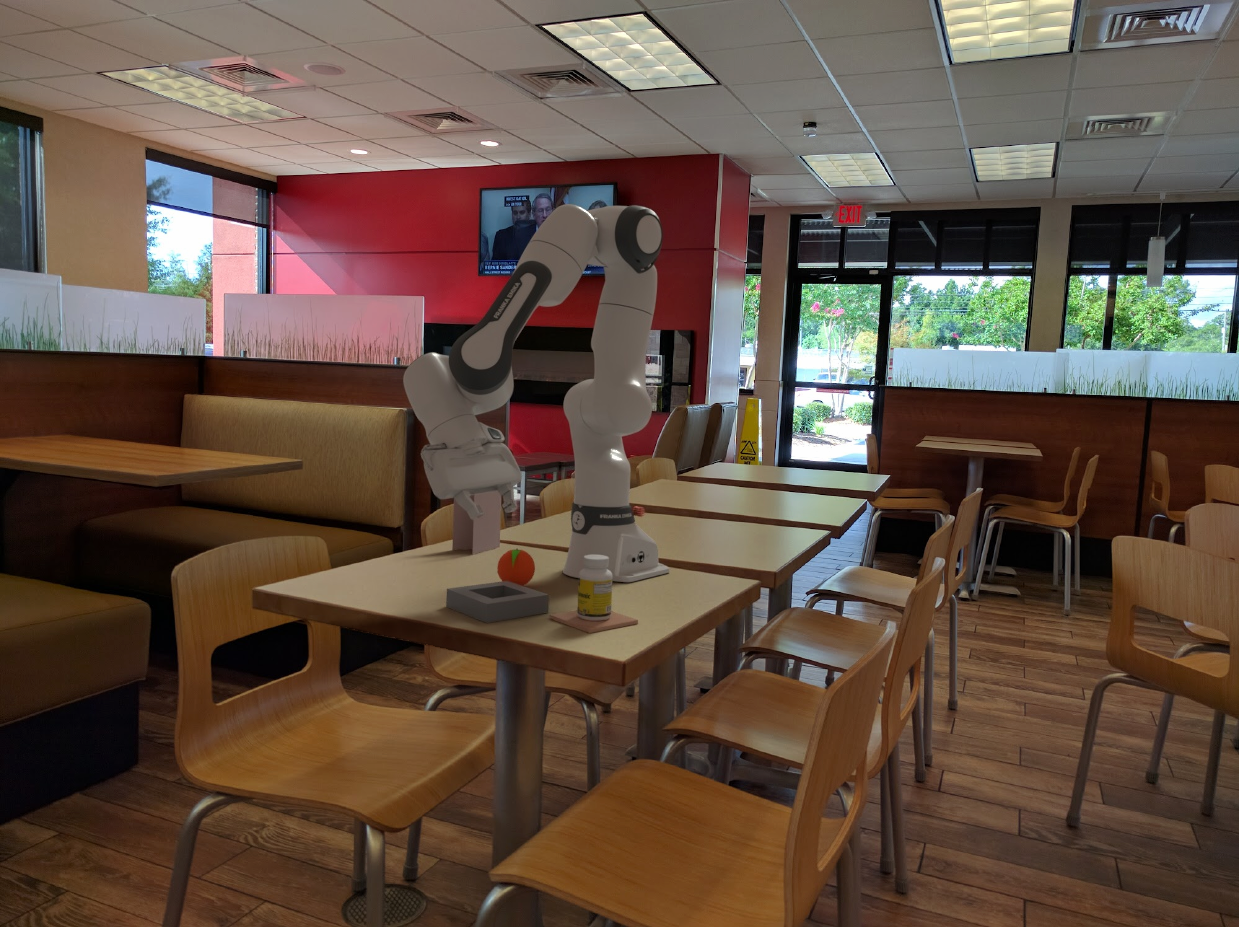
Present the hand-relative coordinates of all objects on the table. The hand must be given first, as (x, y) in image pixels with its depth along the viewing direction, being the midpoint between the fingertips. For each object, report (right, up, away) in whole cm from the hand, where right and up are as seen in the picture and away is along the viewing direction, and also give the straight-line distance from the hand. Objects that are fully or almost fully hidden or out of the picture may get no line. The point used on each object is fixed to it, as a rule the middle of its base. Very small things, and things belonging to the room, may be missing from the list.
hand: (495, 514), depth 145 cm
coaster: (+16, -17, -6) cm, 24 cm away
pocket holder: (0, -16, -1) cm, 16 cm away
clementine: (+1, -15, +16) cm, 22 cm away
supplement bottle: (+16, -16, -5) cm, 24 cm away
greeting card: (-10, -11, +50) cm, 52 cm away
